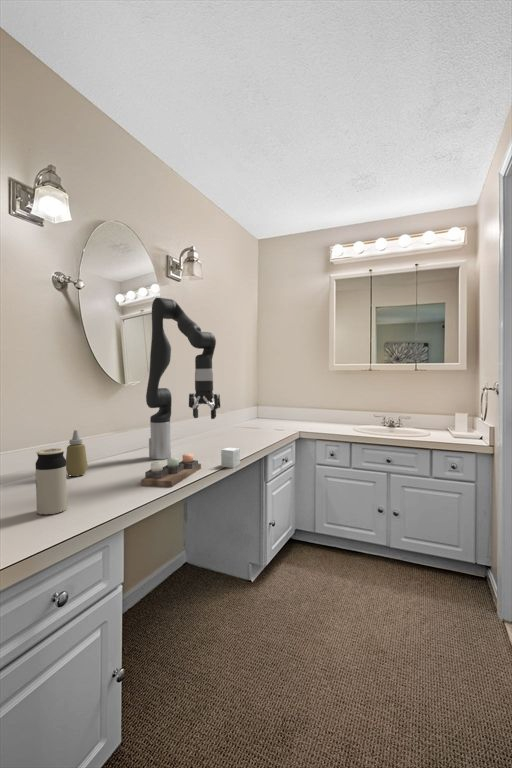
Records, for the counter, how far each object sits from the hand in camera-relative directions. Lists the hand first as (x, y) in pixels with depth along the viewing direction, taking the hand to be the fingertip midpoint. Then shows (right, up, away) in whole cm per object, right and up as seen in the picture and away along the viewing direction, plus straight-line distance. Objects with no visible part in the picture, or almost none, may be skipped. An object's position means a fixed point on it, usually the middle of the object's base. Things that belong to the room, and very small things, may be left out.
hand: (204, 418), depth 168 cm
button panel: (-11, -22, -11) cm, 27 cm away
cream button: (-15, -18, -19) cm, 30 cm away
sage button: (-11, -18, -11) cm, 24 cm away
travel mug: (-39, -23, -50) cm, 67 cm away
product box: (+11, -21, +5) cm, 24 cm away
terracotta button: (-6, -18, -4) cm, 19 cm away
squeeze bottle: (-50, -22, -8) cm, 55 cm away
